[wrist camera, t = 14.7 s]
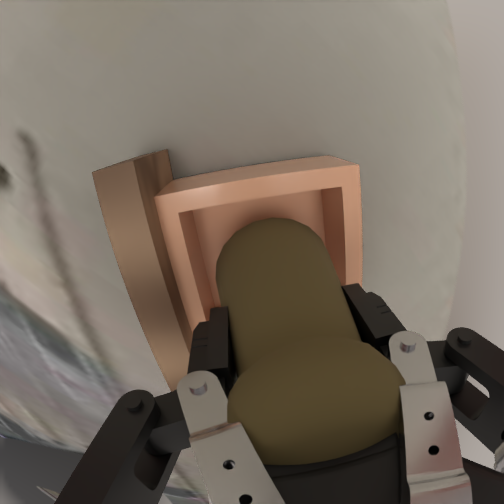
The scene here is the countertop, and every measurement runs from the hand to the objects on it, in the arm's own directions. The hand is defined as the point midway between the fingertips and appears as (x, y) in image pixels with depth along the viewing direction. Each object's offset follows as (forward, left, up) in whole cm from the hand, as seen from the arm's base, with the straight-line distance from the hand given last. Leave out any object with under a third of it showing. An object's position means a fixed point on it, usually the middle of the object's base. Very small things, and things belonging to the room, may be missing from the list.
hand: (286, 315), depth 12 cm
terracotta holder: (0, 0, -9) cm, 9 cm away
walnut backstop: (0, -6, -9) cm, 11 cm away
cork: (0, 0, -4) cm, 4 cm away
